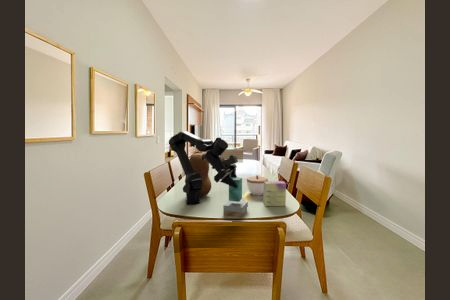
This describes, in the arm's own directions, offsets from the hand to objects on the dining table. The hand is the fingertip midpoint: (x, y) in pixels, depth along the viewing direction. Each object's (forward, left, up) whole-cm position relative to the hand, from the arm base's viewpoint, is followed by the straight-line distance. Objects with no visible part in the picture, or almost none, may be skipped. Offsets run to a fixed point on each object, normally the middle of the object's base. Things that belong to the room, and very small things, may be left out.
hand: (238, 186), depth 108 cm
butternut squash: (-12, +33, -13) cm, 37 cm away
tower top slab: (-1, +1, -11) cm, 11 cm away
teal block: (-1, +1, -7) cm, 7 cm away
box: (+22, +6, -13) cm, 26 cm away
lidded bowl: (+22, +27, -13) cm, 37 cm away
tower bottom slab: (-1, +1, -13) cm, 13 cm away
